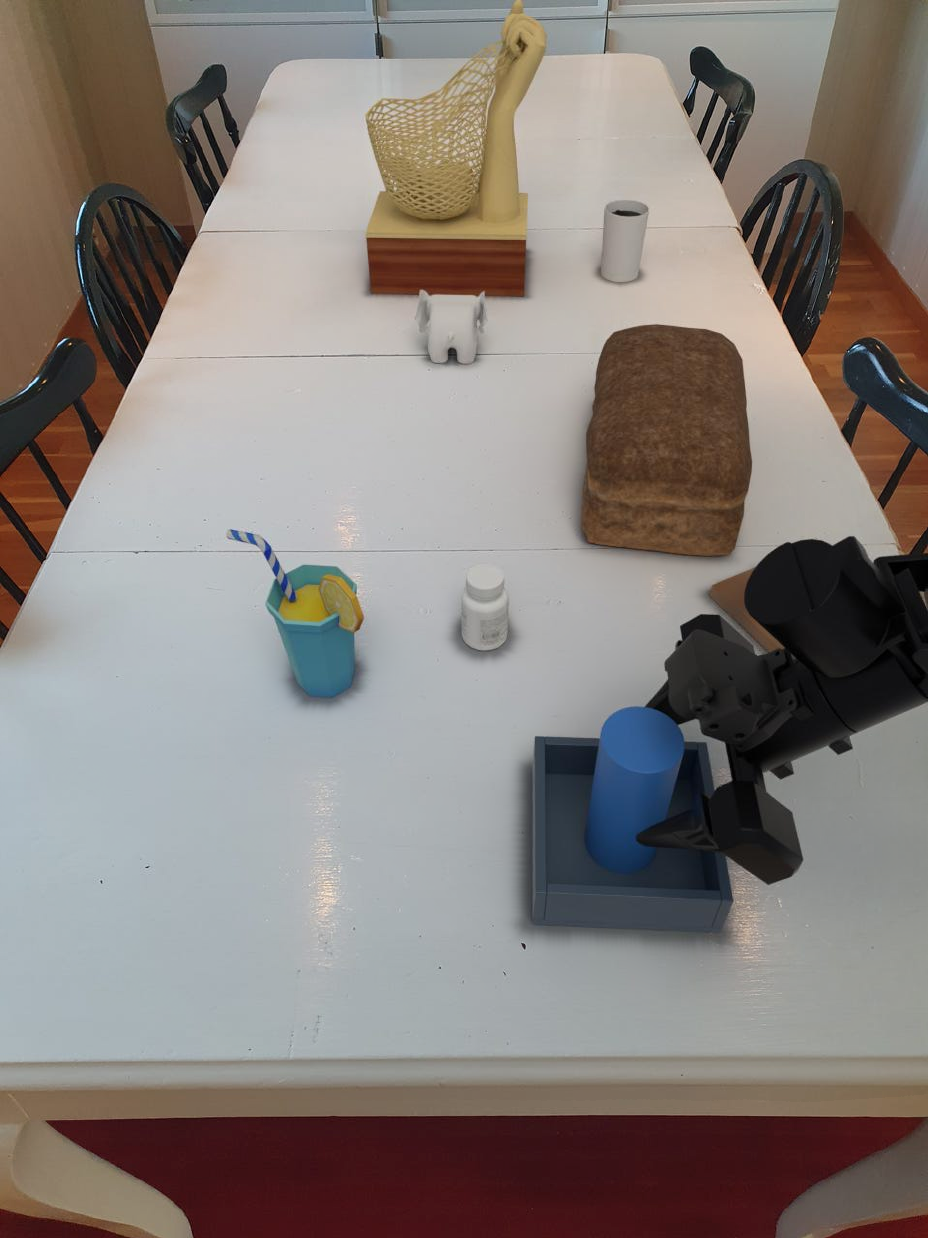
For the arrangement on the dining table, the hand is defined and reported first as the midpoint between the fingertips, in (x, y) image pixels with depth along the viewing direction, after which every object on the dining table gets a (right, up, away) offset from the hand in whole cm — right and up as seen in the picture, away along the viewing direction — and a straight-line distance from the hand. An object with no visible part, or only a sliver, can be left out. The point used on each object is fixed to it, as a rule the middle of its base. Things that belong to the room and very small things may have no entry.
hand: (634, 784), depth 65 cm
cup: (-26, +7, +19) cm, 33 cm away
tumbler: (0, -5, +5) cm, 8 cm away
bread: (+10, +28, +40) cm, 50 cm away
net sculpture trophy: (-13, +66, +77) cm, 103 cm away
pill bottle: (-10, +10, +22) cm, 26 cm away
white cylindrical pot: (+12, +66, +77) cm, 102 cm away
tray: (0, -6, +6) cm, 8 cm away
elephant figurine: (-14, +49, +60) cm, 79 cm away
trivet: (+19, +13, +24) cm, 33 cm away
